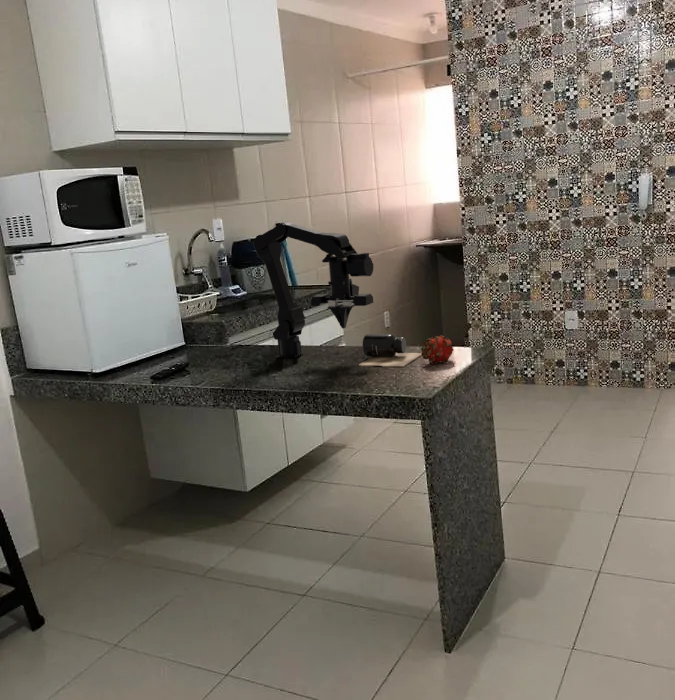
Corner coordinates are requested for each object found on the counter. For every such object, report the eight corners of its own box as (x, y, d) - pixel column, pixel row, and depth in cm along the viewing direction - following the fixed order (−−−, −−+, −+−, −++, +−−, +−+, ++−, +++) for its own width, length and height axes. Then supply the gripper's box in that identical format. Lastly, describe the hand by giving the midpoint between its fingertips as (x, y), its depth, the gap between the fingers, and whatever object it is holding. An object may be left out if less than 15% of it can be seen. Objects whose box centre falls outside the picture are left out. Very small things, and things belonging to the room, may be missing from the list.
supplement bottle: (360, 351, 221) (399, 350, 217) (363, 330, 224) (401, 329, 219) (368, 360, 227) (405, 360, 222) (370, 340, 230) (408, 339, 225)
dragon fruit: (423, 373, 208) (446, 369, 217) (445, 357, 203) (467, 353, 212) (409, 347, 211) (432, 344, 220) (430, 330, 206) (453, 328, 215)
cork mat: (358, 366, 216) (358, 364, 216) (380, 353, 230) (380, 352, 230) (403, 367, 210) (403, 365, 210) (423, 354, 224) (423, 353, 224)
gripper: (379, 272, 225) (382, 323, 229) (324, 273, 234) (329, 322, 237) (363, 277, 216) (367, 330, 219) (307, 278, 224) (312, 329, 228)
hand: (343, 328), depth 226 cm, fingers closed
